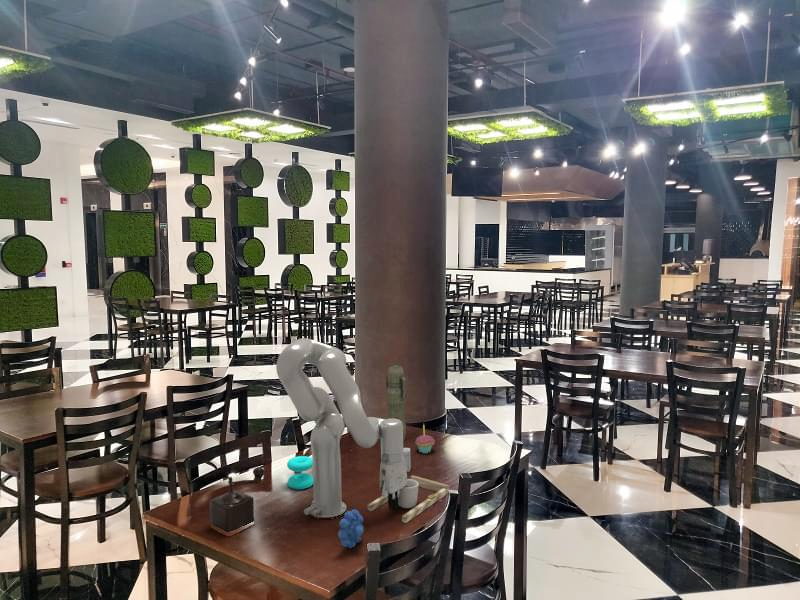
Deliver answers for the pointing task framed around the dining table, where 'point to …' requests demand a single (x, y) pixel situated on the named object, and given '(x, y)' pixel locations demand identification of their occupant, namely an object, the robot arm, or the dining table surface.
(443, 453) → the dining table surface
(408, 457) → the medicine box
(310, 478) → the turquoise double ring spool
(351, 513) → the grapes
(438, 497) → the frame
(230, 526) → the manual coffee grinder
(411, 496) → the cup
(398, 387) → the thermos
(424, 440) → the cupcake
